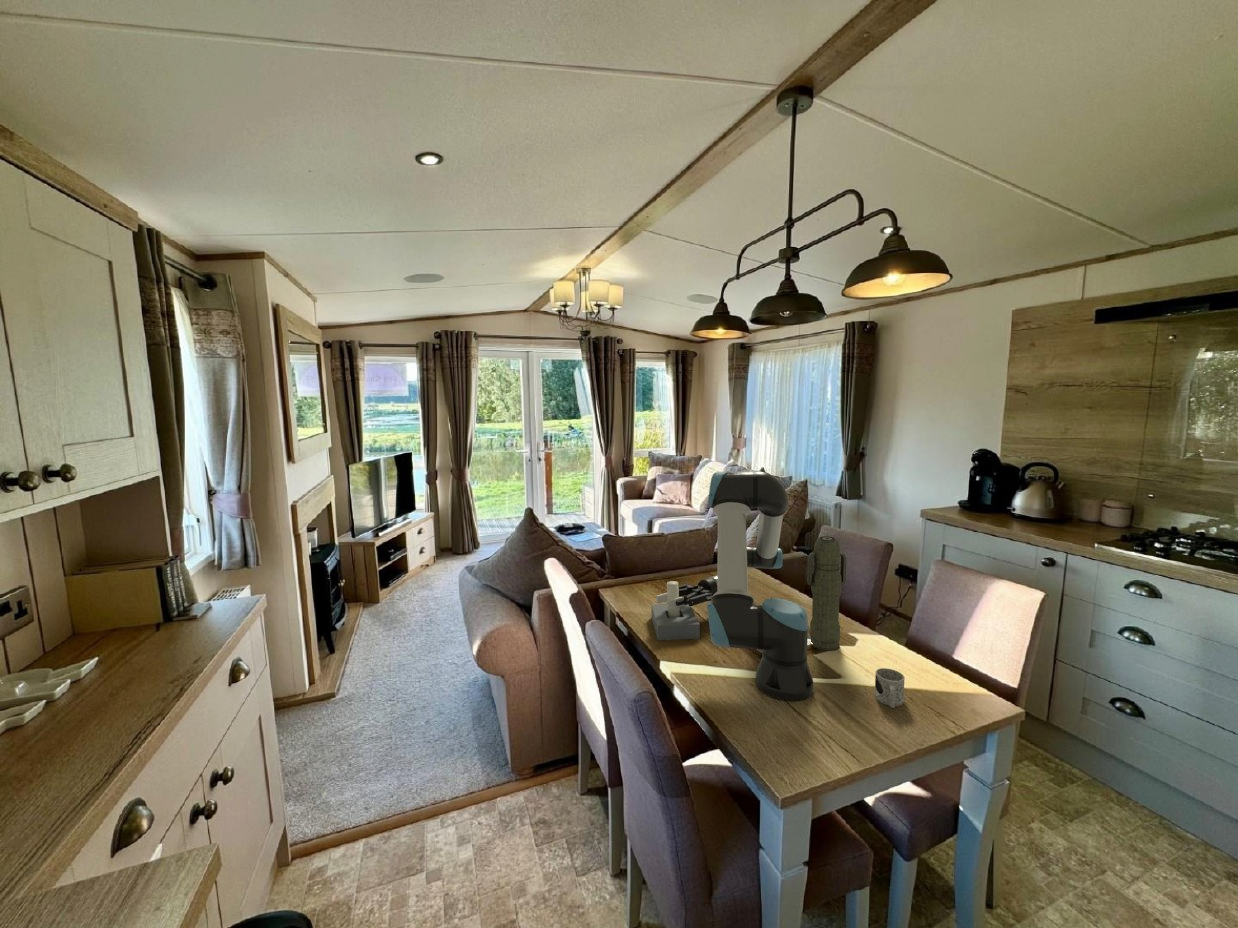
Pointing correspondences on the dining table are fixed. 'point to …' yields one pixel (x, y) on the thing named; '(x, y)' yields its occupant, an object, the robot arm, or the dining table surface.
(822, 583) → the thermos
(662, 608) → the hole block
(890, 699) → the mug
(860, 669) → the dining table surface
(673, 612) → the pin
